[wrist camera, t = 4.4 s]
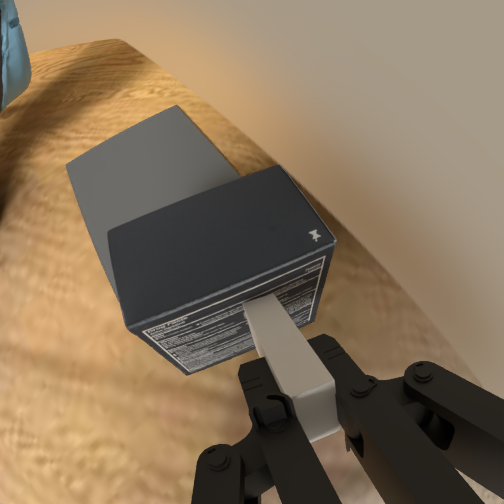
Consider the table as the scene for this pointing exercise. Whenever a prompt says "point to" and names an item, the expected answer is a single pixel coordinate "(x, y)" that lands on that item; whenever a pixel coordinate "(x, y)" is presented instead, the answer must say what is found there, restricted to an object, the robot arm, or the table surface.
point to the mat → (143, 174)
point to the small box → (219, 266)
